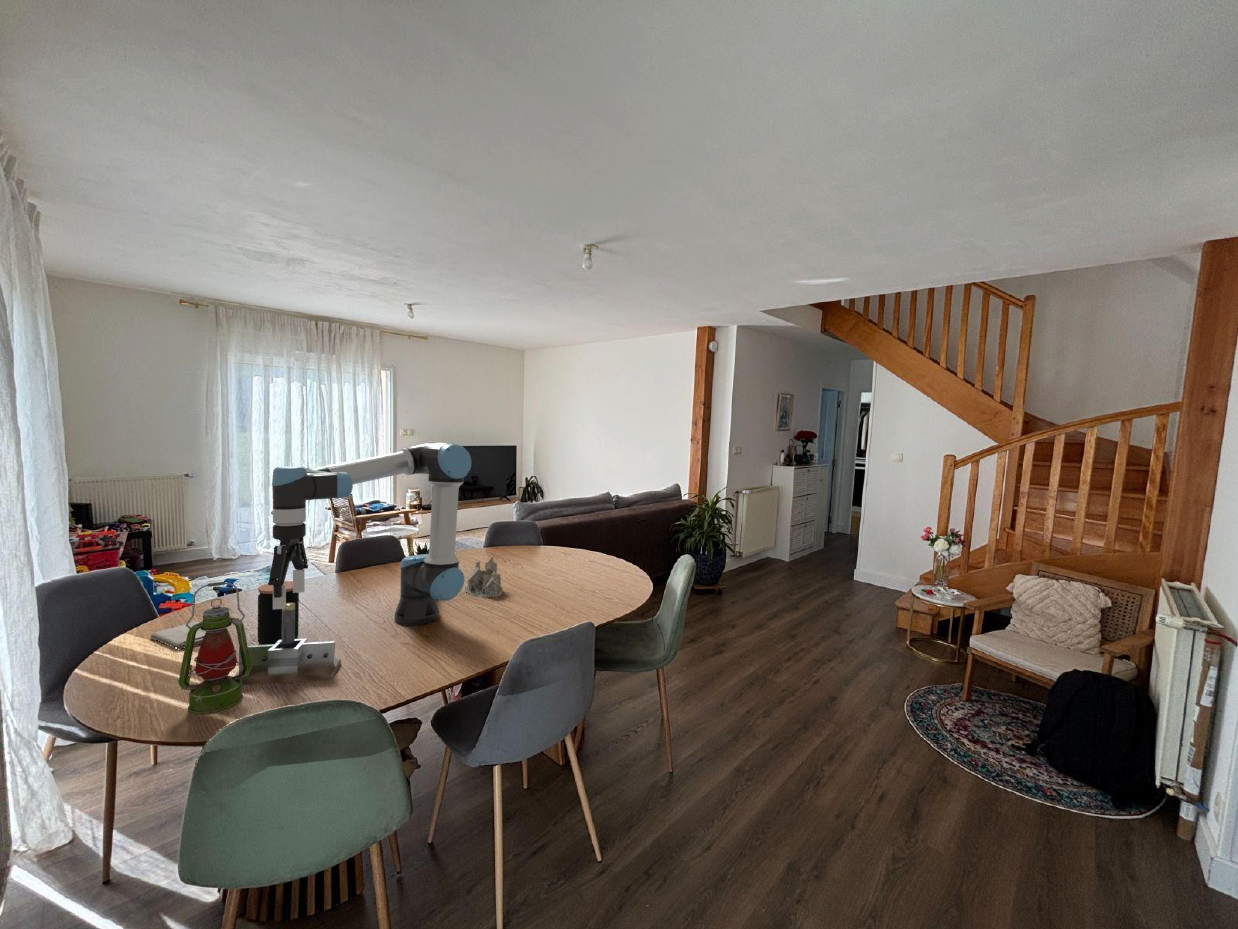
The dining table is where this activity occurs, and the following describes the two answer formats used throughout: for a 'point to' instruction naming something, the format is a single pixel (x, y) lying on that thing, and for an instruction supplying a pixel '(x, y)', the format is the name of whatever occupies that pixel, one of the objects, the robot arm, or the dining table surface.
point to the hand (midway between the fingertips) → (289, 600)
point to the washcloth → (178, 636)
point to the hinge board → (301, 676)
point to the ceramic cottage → (485, 581)
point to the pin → (288, 626)
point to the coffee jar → (274, 614)
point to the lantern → (215, 661)
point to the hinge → (290, 657)
